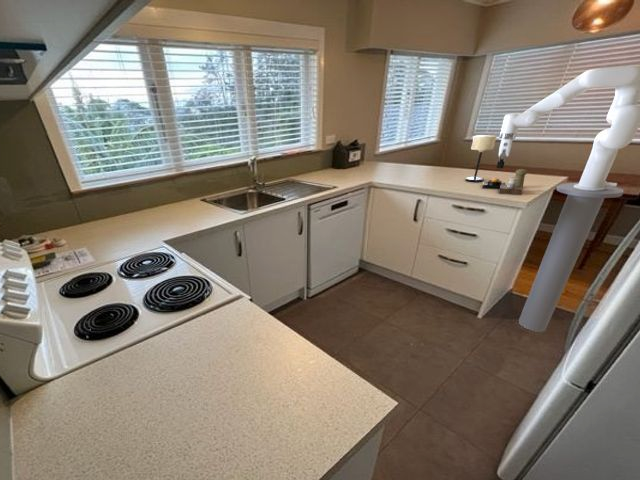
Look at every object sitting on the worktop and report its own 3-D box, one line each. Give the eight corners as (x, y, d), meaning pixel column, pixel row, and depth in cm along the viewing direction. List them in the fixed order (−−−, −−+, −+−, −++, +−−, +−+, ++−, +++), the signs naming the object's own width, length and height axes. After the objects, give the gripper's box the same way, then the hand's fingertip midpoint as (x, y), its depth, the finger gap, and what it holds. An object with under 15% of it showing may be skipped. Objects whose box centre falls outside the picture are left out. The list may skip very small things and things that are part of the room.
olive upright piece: (510, 188, 183) (515, 170, 178) (510, 186, 187) (515, 168, 182) (522, 189, 179) (528, 170, 175) (522, 186, 184) (528, 168, 179)
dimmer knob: (515, 188, 172) (518, 178, 170) (506, 187, 174) (509, 178, 172) (515, 186, 175) (518, 177, 172) (506, 186, 177) (509, 176, 175)
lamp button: (498, 181, 187) (499, 178, 186) (498, 182, 184) (499, 179, 183) (491, 180, 189) (492, 177, 188) (491, 181, 186) (492, 179, 185)
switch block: (504, 186, 188) (506, 179, 186) (504, 189, 182) (506, 183, 180) (483, 185, 194) (484, 178, 192) (482, 188, 188) (483, 181, 186)
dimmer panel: (520, 191, 176) (521, 185, 175) (520, 194, 170) (522, 189, 169) (499, 189, 182) (500, 184, 181) (498, 193, 176) (500, 188, 174)
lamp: (485, 179, 206) (496, 134, 193) (484, 183, 198) (496, 136, 185) (464, 178, 213) (474, 135, 200) (463, 182, 204) (473, 137, 192)
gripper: (516, 137, 167) (507, 170, 175) (515, 134, 178) (507, 166, 186) (499, 138, 172) (491, 170, 179) (499, 135, 182) (492, 165, 190)
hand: (499, 168), depth 182 cm, fingers closed
